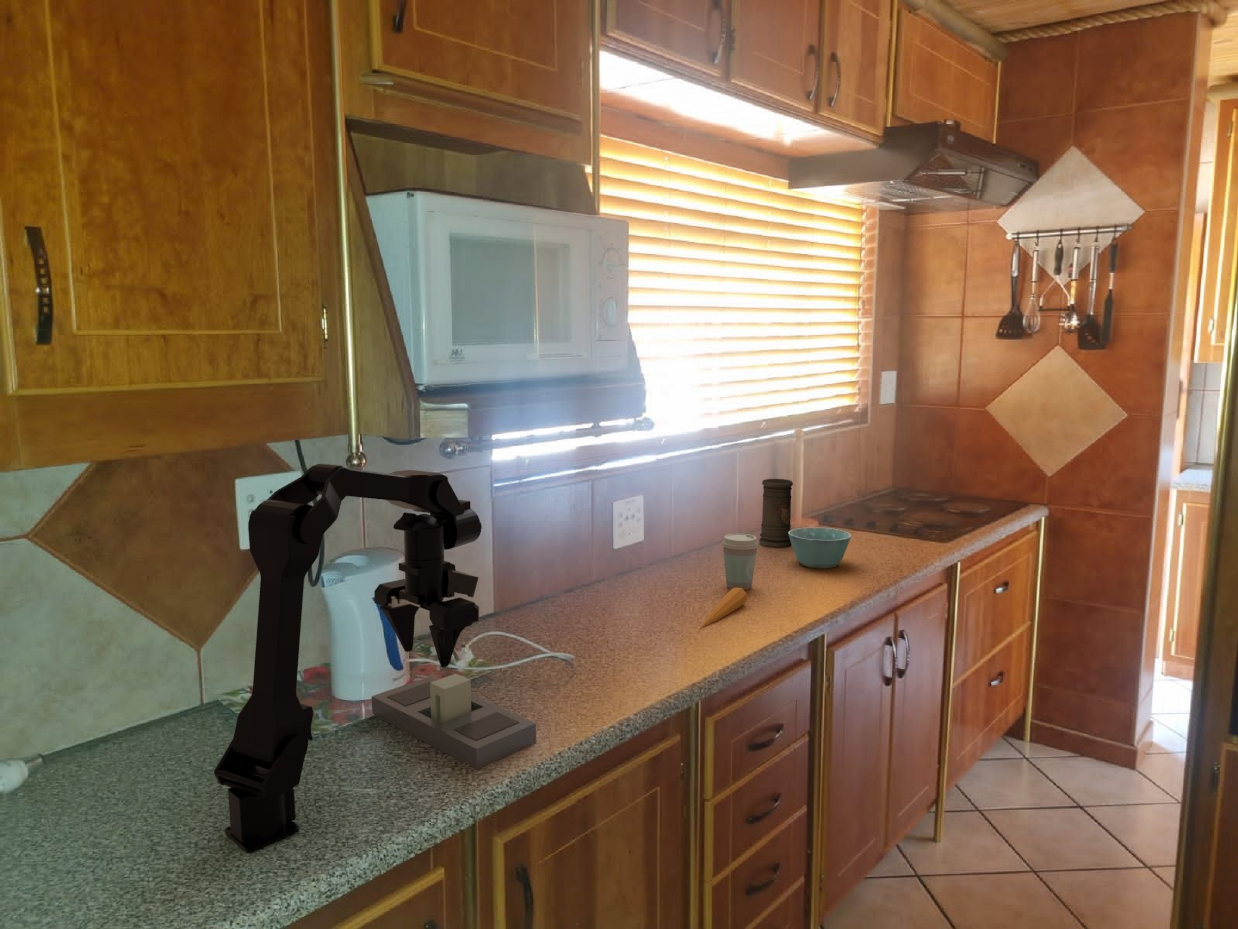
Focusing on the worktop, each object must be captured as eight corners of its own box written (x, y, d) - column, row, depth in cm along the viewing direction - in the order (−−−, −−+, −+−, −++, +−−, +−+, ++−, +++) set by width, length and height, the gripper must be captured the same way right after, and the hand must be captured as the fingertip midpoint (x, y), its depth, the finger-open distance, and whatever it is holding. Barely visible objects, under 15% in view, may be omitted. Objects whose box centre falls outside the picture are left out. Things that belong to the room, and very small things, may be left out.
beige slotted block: (445, 737, 134) (444, 689, 133) (431, 729, 136) (429, 682, 135) (471, 726, 137) (470, 679, 136) (457, 719, 140) (455, 673, 139)
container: (756, 546, 251) (758, 482, 248) (762, 539, 259) (764, 477, 256) (789, 548, 248) (791, 484, 245) (793, 541, 256) (795, 479, 254)
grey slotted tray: (476, 769, 124) (476, 748, 124) (372, 714, 142) (371, 695, 141) (536, 742, 132) (535, 722, 132) (430, 693, 150) (429, 676, 149)
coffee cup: (748, 594, 206) (750, 543, 204) (714, 588, 210) (715, 538, 208) (763, 585, 213) (764, 535, 211) (730, 579, 217) (731, 531, 216)
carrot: (735, 606, 200) (728, 587, 200) (752, 601, 197) (745, 582, 197) (694, 640, 184) (686, 620, 184) (713, 636, 181) (704, 616, 181)
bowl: (778, 557, 238) (779, 527, 237) (834, 555, 241) (835, 525, 240) (800, 573, 223) (802, 541, 222) (860, 571, 226) (861, 539, 225)
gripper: (508, 558, 131) (508, 661, 133) (432, 537, 144) (434, 632, 146) (445, 571, 123) (446, 681, 125) (371, 548, 136) (373, 648, 138)
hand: (426, 658), depth 134 cm, fingers open, 9 cm apart
